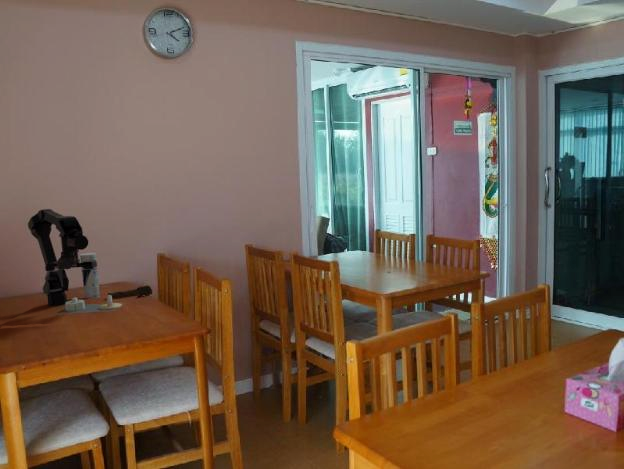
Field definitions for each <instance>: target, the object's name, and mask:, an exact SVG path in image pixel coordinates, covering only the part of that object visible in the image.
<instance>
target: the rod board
mask: <svg viewBox="0 0 624 469" xmlns="http://www.w3.org/2000/svg"><path fill="white" fill-rule="evenodd" d="M77 300H78V297H72V298H71V301H72V303H76V302H77ZM124 305H125V302H113V299H112V296H111V295H108V294H107V295H106V303H93V304H90V303H89V304H85V308H84V309H82V310H78V311H66V309H64V310H63V311H61V312H59V313H58V315H66V314H84V313H85V314H87V313H88V314H89V313H105V312H116V311H117V310H118V309H119V308H122V306H124Z"/></svg>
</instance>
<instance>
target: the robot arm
mask: <svg viewBox="0 0 624 469" xmlns="http://www.w3.org/2000/svg"><path fill="white" fill-rule="evenodd" d="M53 225H54V226H55V230H57V231H58V232H59V235H58V237H60V242H61V244H60V245H61V251H60V257H58V259H57V256H56V253H55V250H54V246H53V244H52V243H53V242H52V240H51V237H50V235H51V232H52V226H53ZM27 227H28V230H29V231H30V233H31V236H33V237H34V238H35V239H36V240H37V242H38V245H39V249H40V252H41V255H42V259H43V261H44V265H45V266H44V270H45V271H46V273H45V277H44V280H45V281H44V284H43V287H42V292H43V294H44V295H47V296H46V297H47V303H48V304H47V305H48V306H51V307H57V306H65V303H66V302H68V299H67V297H68V296H67V294H66V292H68V291H69V285H70V284H69V283H70V280H69V277H68V276H67V271H66V270H70V269H73V268H81V273H82V272H83V277H82V284H83V283H84V286H86V283H87V280H88V277H89V274H90V272H91V270H92V269H94V268H95V267H97V268H98V262H97V259H96V260H86V261H84V262H83V263H81V258H79V253H80V252H79V251H81V250H86V248H87V247H88V246H89V239H88V238H87V236H85V235H83V233H84V231H83V227H82V225H81V224H80V222H79V220H78V219H77V217H75V216H72V215H63V214H60V213H58V212H55V211H54V210H53V209H51V208H47V209H46V208H45V209H40V210H38V211H37V213H35V214H34V215H33V216H31V217H30V218H29V221H28V223H27ZM82 268H84V269H83V270H82ZM84 286H83V287H84Z"/></svg>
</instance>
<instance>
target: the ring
mask: <svg viewBox="0 0 624 469" xmlns="http://www.w3.org/2000/svg"><path fill="white" fill-rule="evenodd" d="M85 305H86V304H85V299H77V302H76V303H72V300H67V302H66V303H65V304H64V306H65V310H66V311H78V310H82V309H84V308H85Z"/></svg>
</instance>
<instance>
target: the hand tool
mask: <svg viewBox="0 0 624 469" xmlns="http://www.w3.org/2000/svg"><path fill="white" fill-rule="evenodd" d="M108 295H111V296H112V300H115V299H122V298H123V299H124V298H129V297H135V296H137V297H139V296H143V295H148V296H150V295H153V289H152V287H151V286H149V285H142V286H138V287H137V288H135V289H129V290H123V291H115V292H107V296H108ZM143 297H144V296H143Z"/></svg>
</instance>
